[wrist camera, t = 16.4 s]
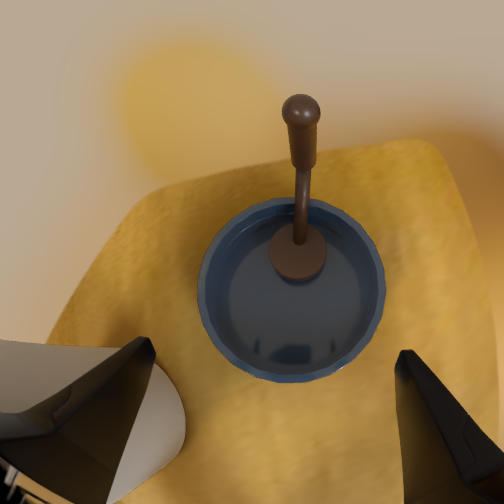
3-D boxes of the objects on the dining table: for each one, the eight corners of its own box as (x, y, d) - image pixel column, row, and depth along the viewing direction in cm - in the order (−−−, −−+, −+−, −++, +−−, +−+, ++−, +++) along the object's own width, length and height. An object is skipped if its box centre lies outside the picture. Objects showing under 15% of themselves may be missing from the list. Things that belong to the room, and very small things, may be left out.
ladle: (322, 285, 22) (339, 230, 11) (266, 277, 23) (226, 217, 12) (332, 196, 24) (344, 90, 12) (281, 190, 25) (259, 85, 13)
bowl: (353, 389, 20) (362, 399, 16) (197, 351, 23) (177, 353, 20) (382, 233, 23) (394, 214, 20) (236, 206, 26) (225, 185, 23)
